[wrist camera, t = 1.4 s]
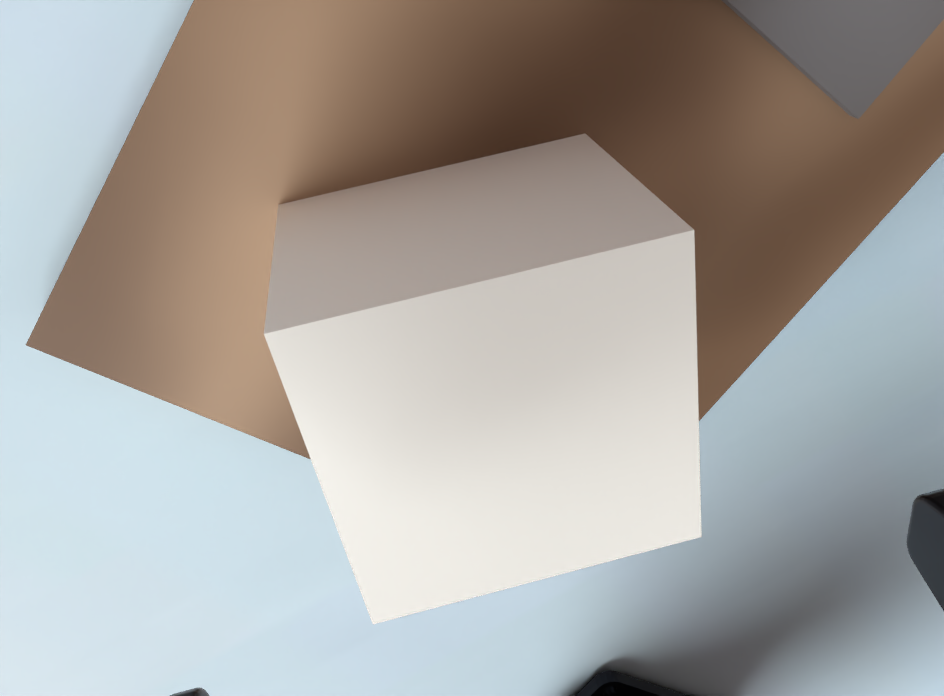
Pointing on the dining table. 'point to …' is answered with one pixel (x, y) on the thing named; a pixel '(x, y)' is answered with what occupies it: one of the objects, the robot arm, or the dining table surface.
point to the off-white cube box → (492, 370)
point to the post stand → (483, 134)
